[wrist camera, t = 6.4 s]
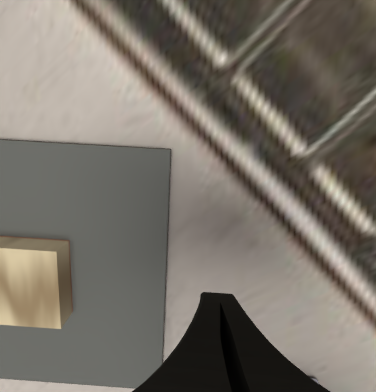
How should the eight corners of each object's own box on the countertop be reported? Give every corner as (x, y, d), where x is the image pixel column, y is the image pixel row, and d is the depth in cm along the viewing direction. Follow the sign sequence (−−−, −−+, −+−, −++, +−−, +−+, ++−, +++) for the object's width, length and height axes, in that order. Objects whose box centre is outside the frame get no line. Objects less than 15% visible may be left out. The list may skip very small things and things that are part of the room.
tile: (60, 329, 20) (-35, 322, 21) (72, 311, 22) (-15, 305, 23) (56, 251, 19) (-47, 244, 19) (69, 240, 21) (-25, 234, 21)
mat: (161, 384, 24) (160, 390, 24) (-22, 370, 25) (-27, 376, 24) (171, 149, 20) (170, 149, 19) (-56, 136, 20) (-63, 136, 19)
